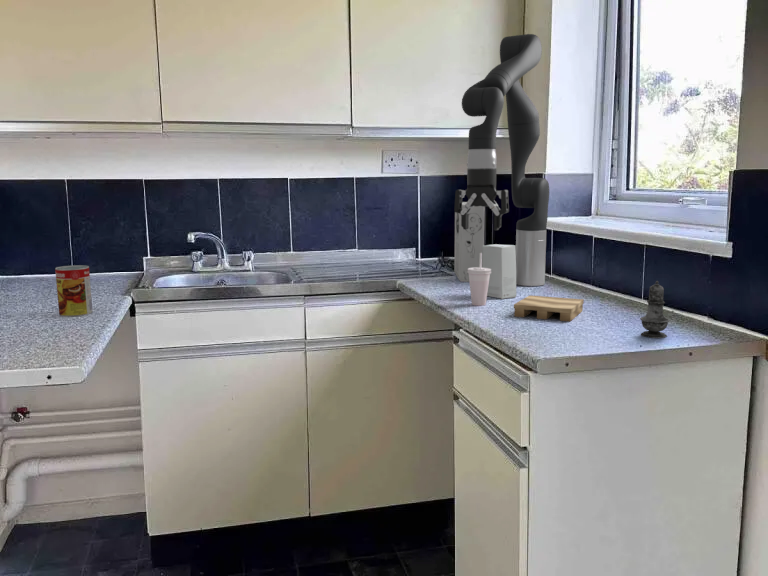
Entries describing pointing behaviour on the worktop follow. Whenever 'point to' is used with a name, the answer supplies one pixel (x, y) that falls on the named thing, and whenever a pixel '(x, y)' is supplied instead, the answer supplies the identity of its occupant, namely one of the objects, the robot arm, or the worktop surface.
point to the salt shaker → (655, 314)
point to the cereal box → (469, 242)
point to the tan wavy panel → (549, 307)
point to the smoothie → (479, 283)
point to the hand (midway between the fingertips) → (481, 229)
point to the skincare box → (500, 270)
